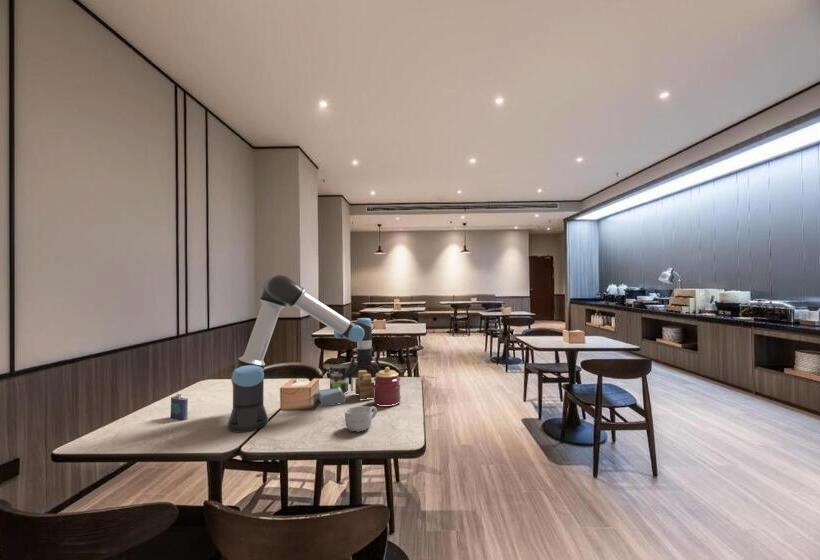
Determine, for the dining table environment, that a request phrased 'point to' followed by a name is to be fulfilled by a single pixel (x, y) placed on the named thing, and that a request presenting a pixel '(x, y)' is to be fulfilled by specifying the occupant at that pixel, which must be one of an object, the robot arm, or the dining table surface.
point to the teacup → (359, 417)
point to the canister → (387, 387)
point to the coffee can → (339, 377)
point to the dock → (331, 396)
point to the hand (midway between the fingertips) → (364, 389)
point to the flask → (179, 407)
